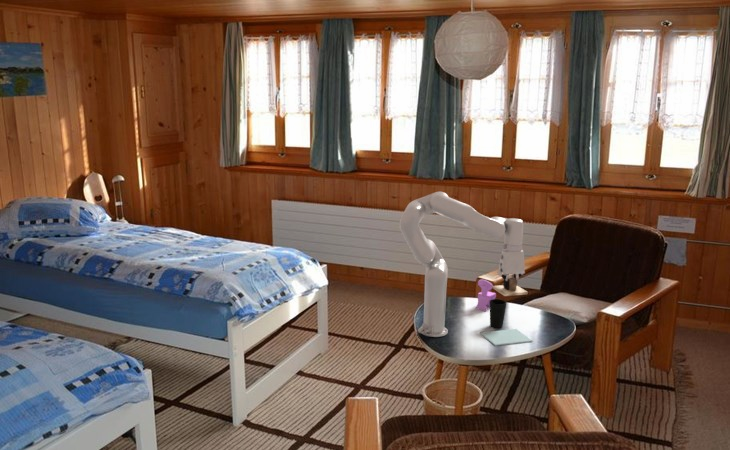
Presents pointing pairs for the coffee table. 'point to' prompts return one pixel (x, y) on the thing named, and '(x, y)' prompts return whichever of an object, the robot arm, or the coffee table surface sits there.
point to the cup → (497, 313)
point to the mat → (505, 337)
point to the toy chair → (485, 295)
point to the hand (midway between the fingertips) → (509, 288)
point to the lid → (510, 288)
